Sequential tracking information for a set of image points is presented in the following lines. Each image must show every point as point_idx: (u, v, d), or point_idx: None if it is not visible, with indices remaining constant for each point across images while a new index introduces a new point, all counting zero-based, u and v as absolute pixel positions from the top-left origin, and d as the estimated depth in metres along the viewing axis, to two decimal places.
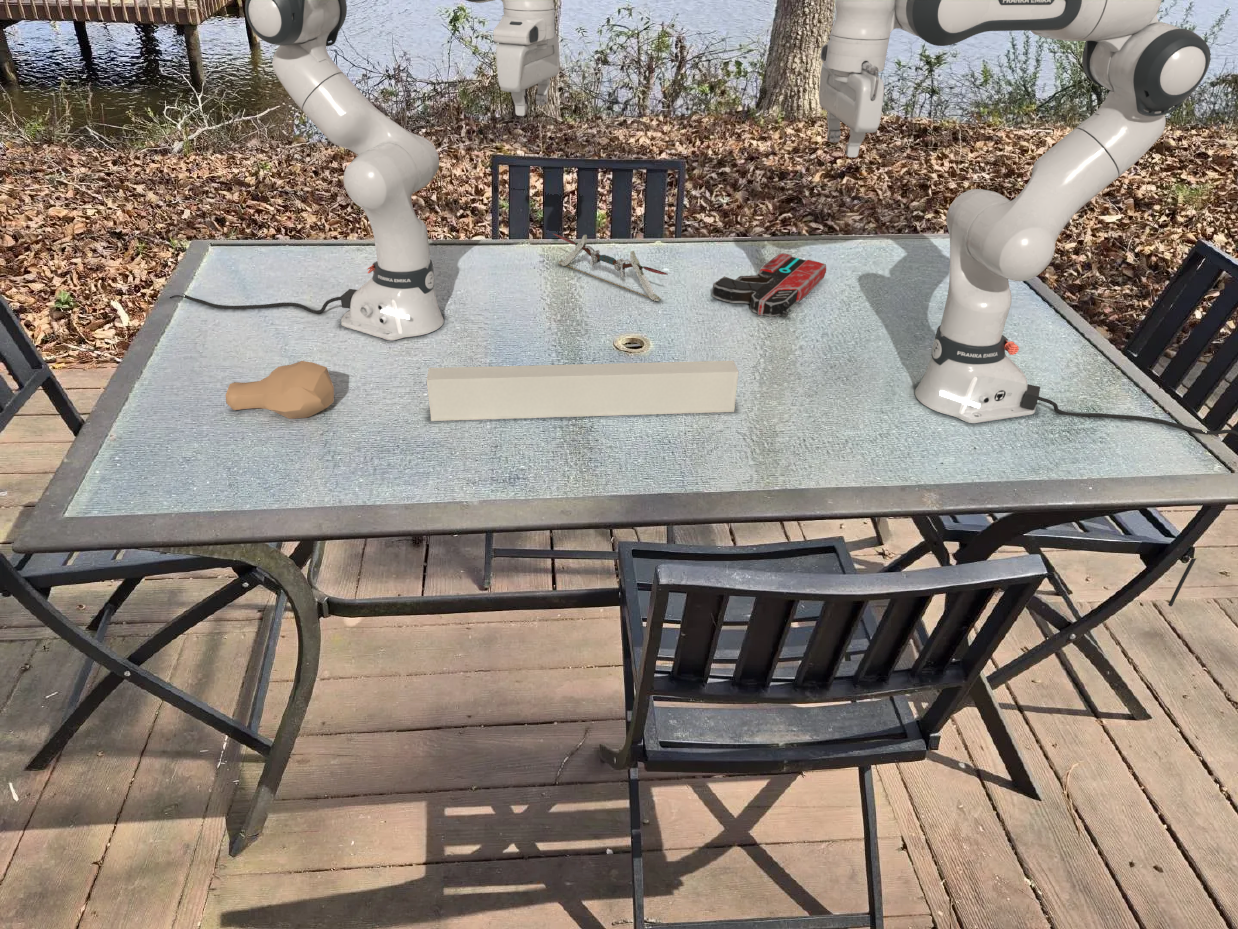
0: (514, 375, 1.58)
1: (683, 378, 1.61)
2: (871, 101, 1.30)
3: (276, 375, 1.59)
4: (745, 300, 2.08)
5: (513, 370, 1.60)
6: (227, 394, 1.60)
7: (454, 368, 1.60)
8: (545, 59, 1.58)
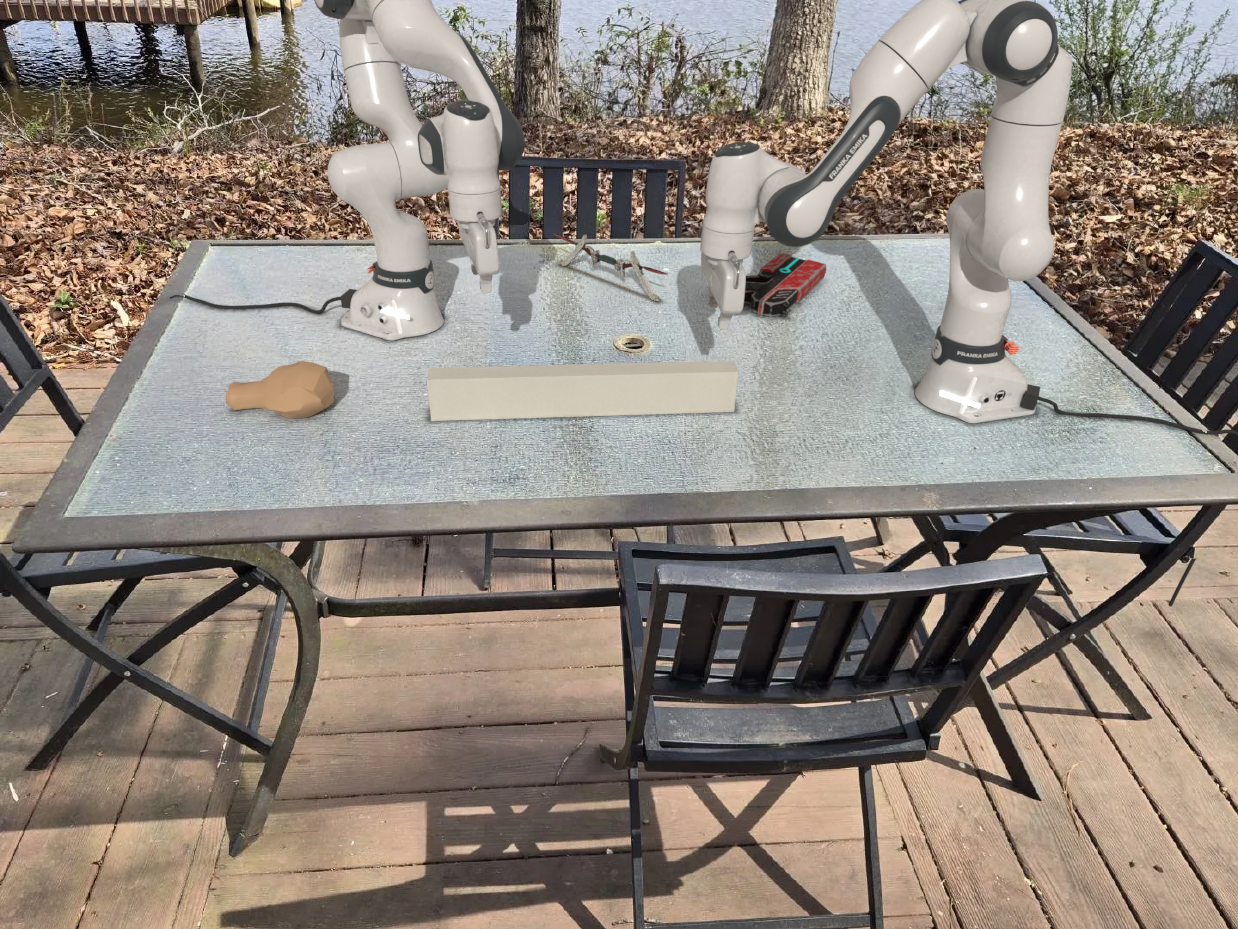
0: (514, 375, 1.58)
1: (683, 378, 1.61)
2: (734, 289, 1.45)
3: (276, 375, 1.59)
4: (745, 300, 2.08)
5: (513, 370, 1.60)
6: (227, 394, 1.60)
7: (454, 368, 1.60)
8: (470, 242, 1.50)
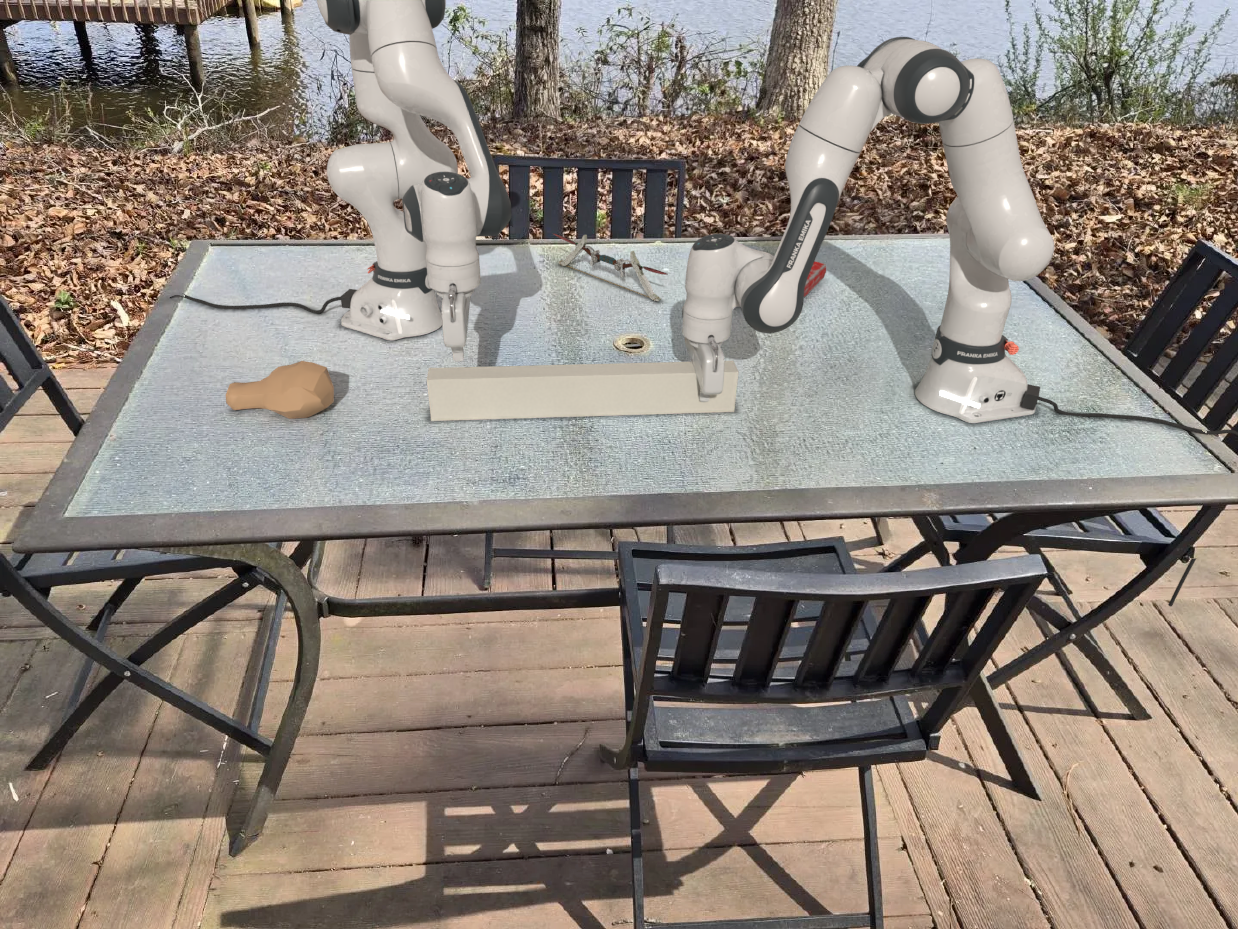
0: (514, 375, 1.58)
1: (683, 378, 1.61)
2: (714, 373, 1.53)
3: (276, 375, 1.59)
4: None
5: (513, 370, 1.60)
6: (227, 394, 1.60)
7: (454, 368, 1.60)
8: None
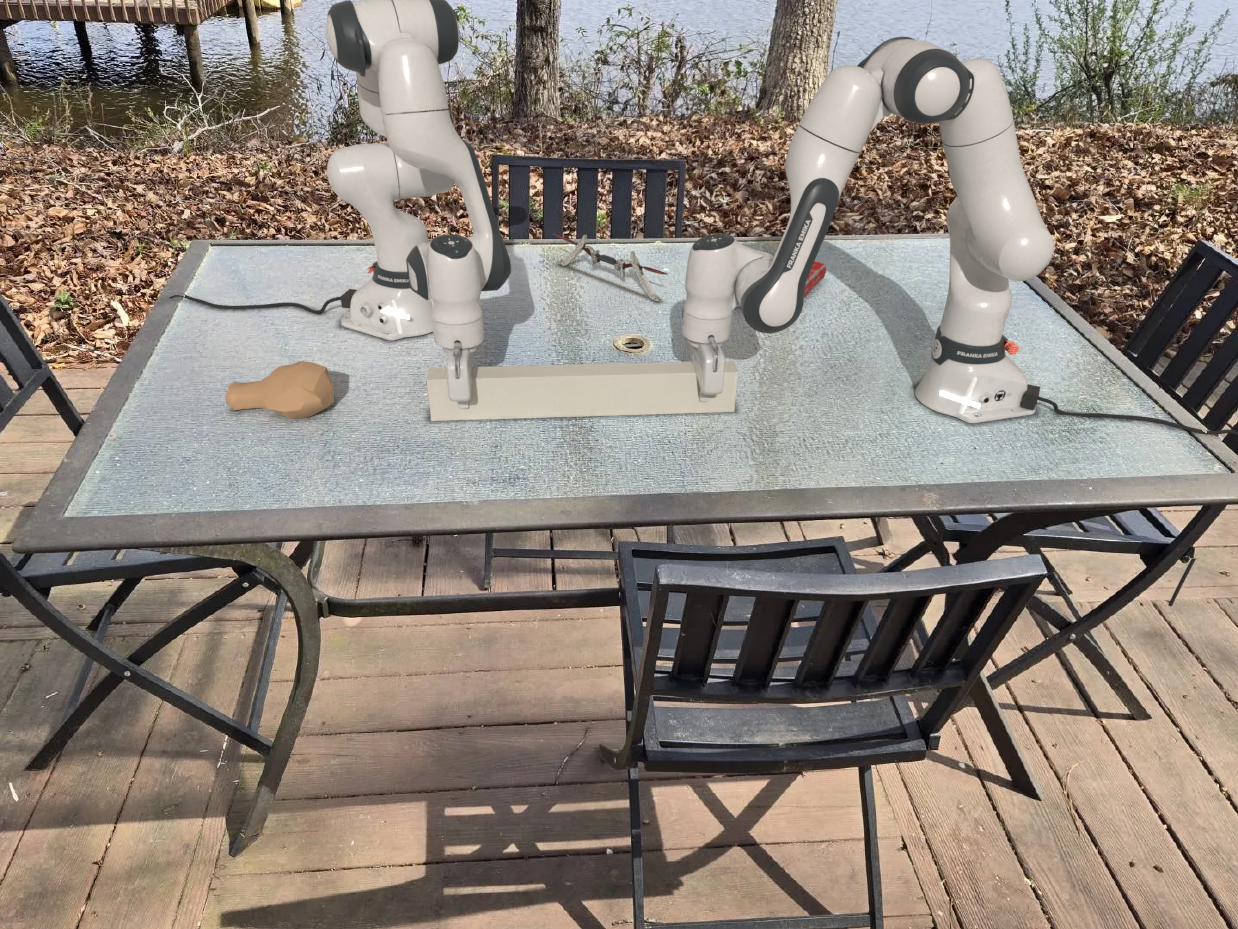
0: (514, 375, 1.58)
1: (683, 378, 1.61)
2: (714, 373, 1.53)
3: (276, 375, 1.59)
4: None
5: (513, 370, 1.60)
6: (227, 394, 1.60)
7: None
8: None
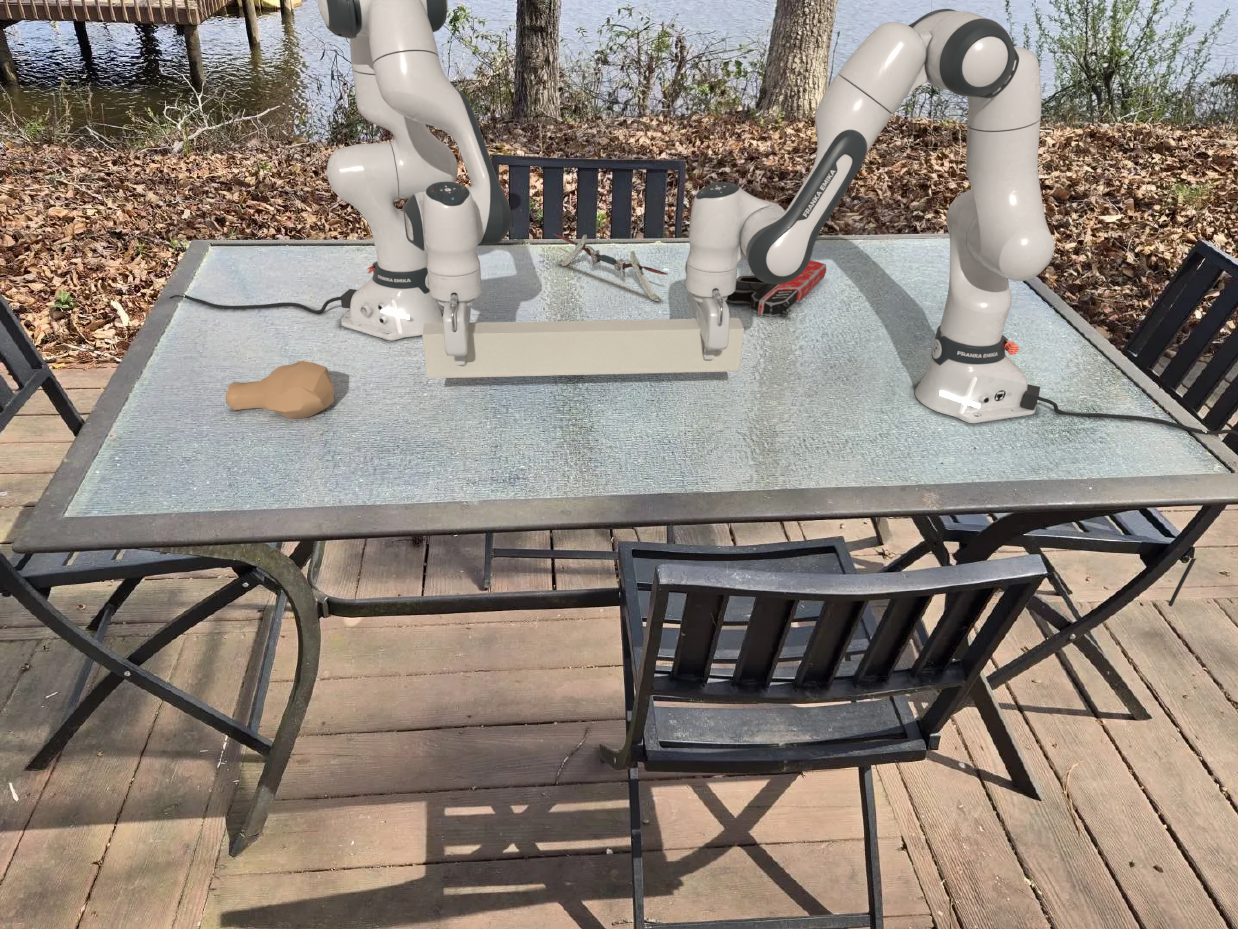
0: (512, 331, 1.54)
1: (686, 335, 1.56)
2: (719, 327, 1.48)
3: (276, 375, 1.59)
4: (745, 300, 2.08)
5: (511, 326, 1.55)
6: (227, 394, 1.60)
7: None
8: None
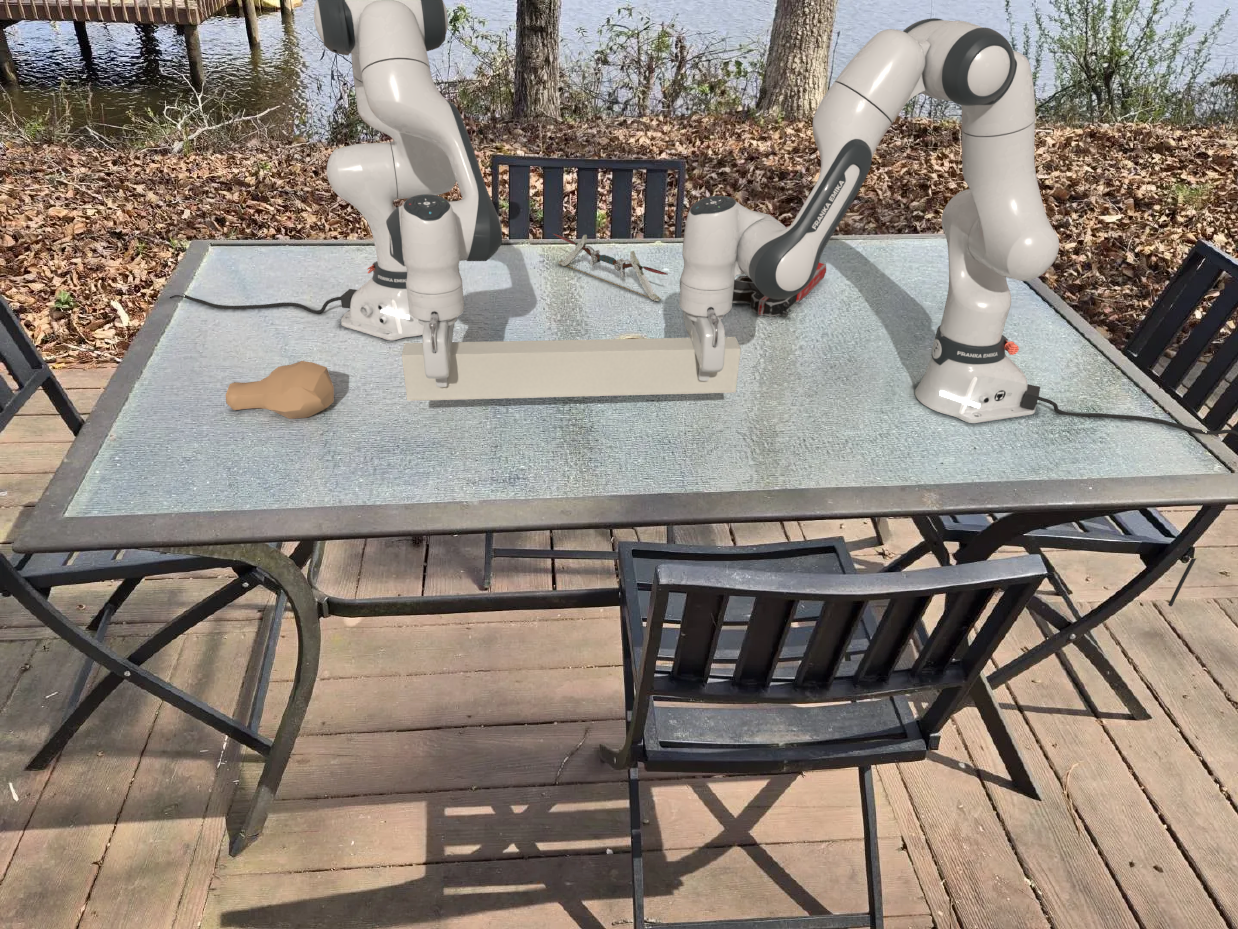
0: (497, 351, 1.46)
1: (680, 355, 1.49)
2: (714, 348, 1.40)
3: (276, 375, 1.59)
4: (745, 300, 2.08)
5: (496, 346, 1.47)
6: (227, 394, 1.60)
7: None
8: None
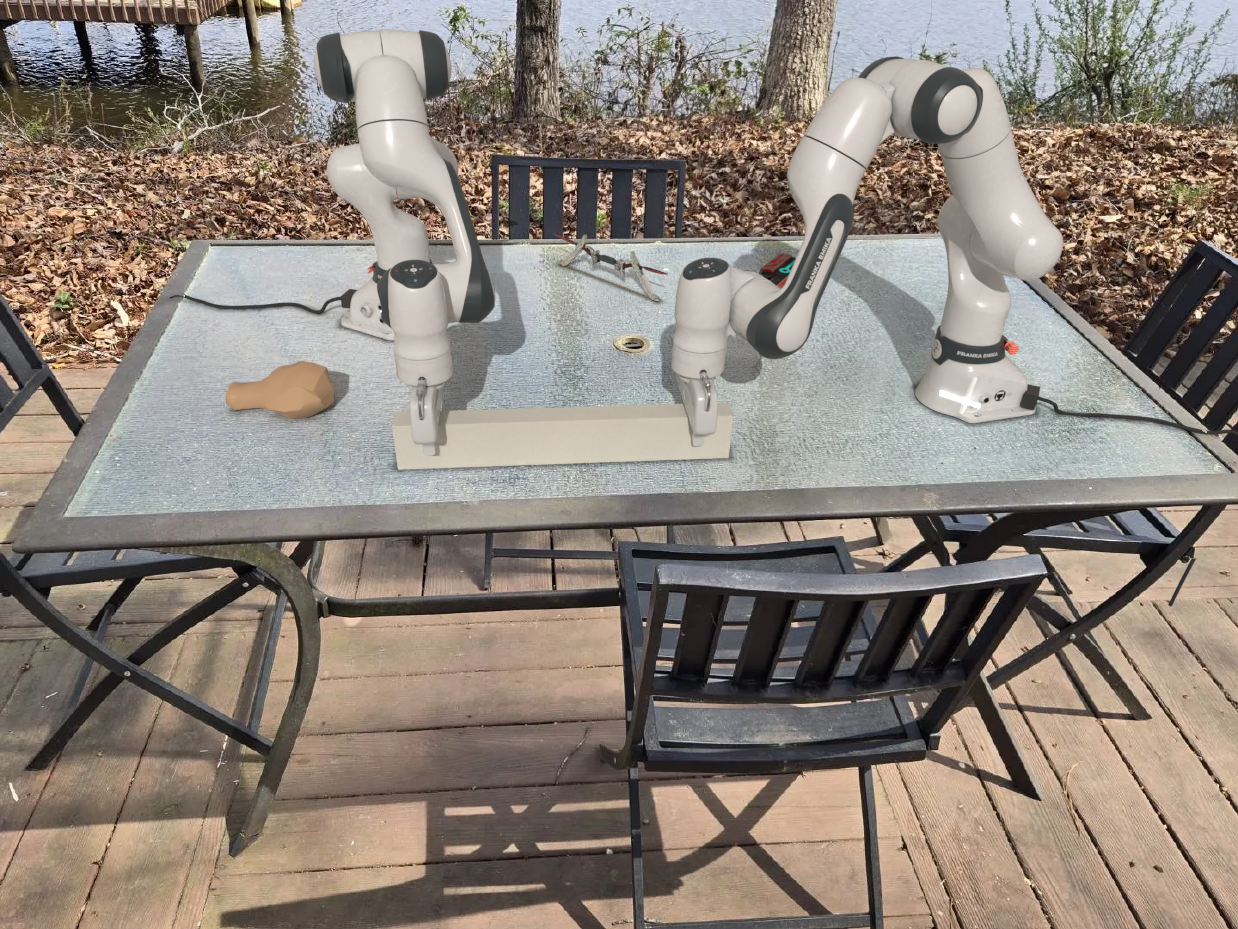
0: (488, 421, 1.45)
1: (672, 423, 1.48)
2: (706, 412, 1.38)
3: (276, 375, 1.59)
4: None
5: (487, 414, 1.47)
6: (227, 394, 1.60)
7: None
8: None
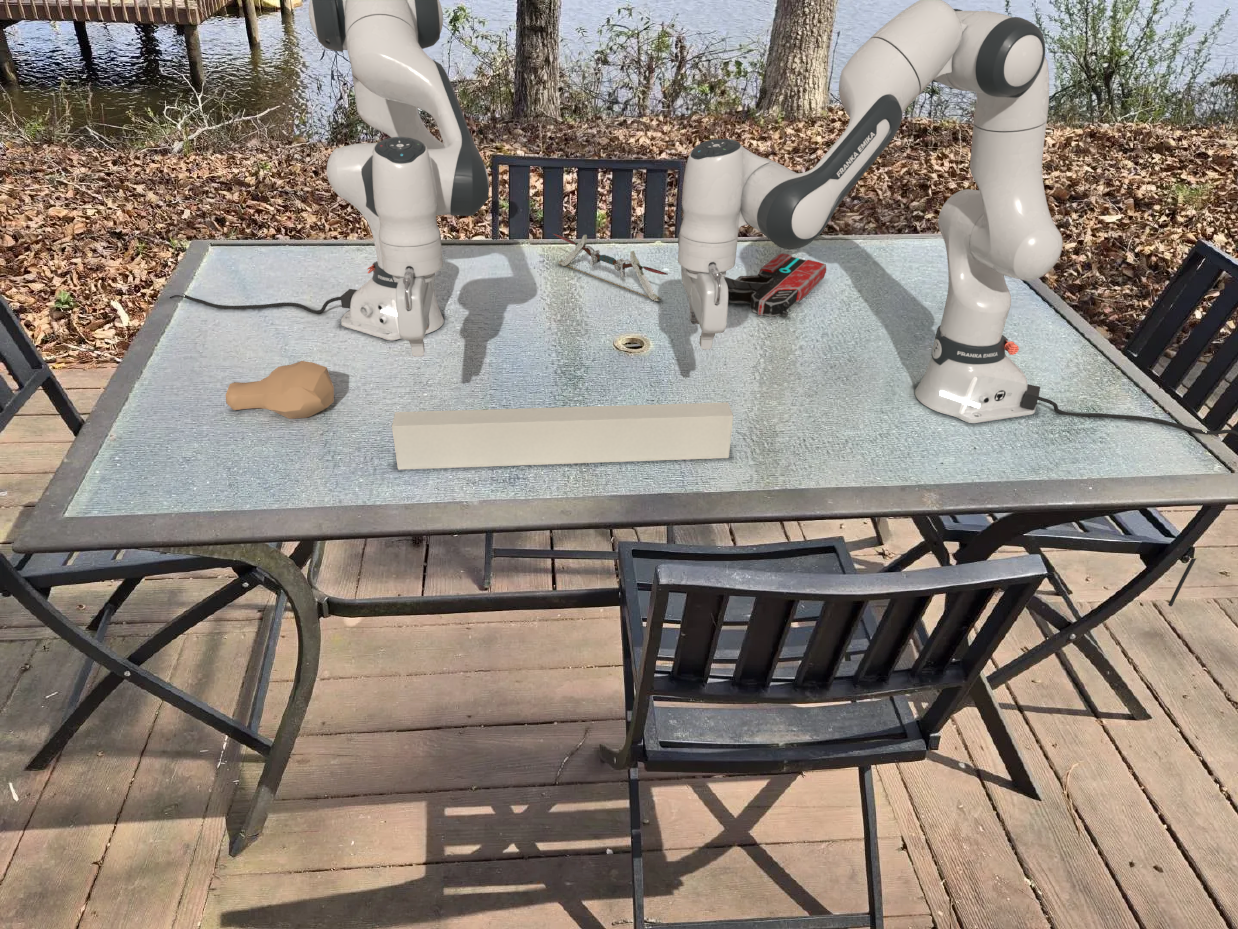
0: (488, 421, 1.45)
1: (672, 423, 1.48)
2: (716, 306, 1.28)
3: (276, 375, 1.59)
4: (745, 300, 2.08)
5: (487, 414, 1.47)
6: (227, 394, 1.60)
7: (423, 412, 1.47)
8: None
